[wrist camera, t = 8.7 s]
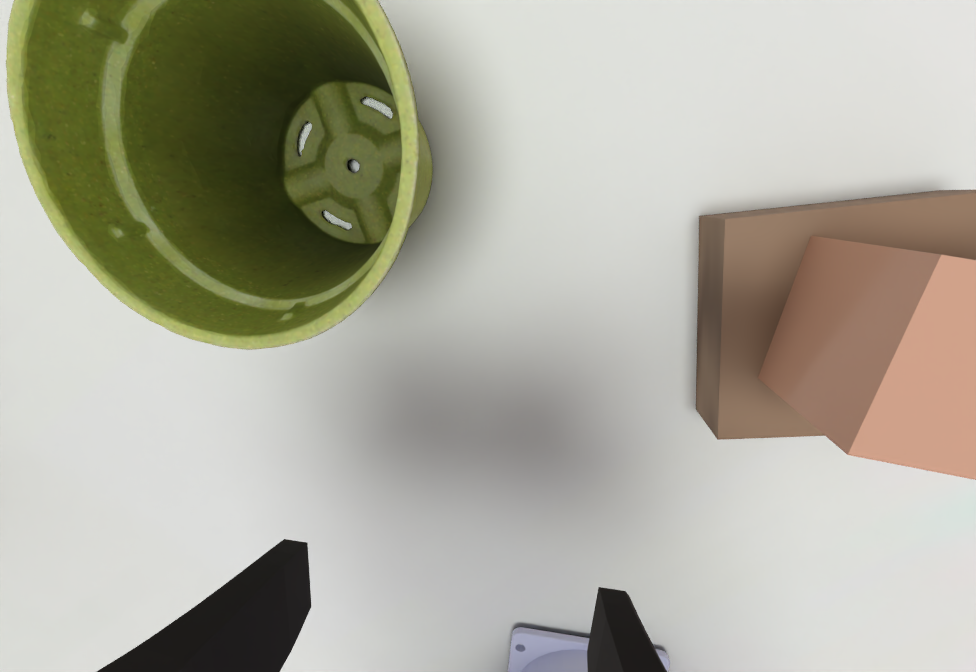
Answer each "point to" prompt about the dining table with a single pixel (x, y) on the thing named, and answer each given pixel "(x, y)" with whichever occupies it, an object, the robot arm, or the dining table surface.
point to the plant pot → (221, 155)
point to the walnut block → (768, 281)
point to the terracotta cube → (882, 353)
